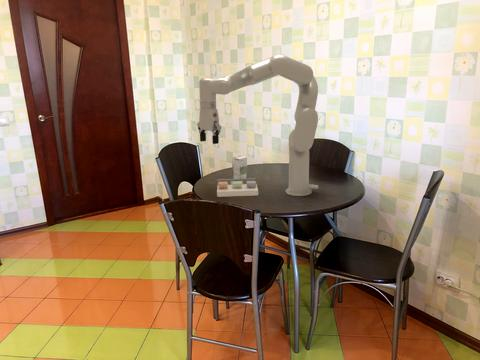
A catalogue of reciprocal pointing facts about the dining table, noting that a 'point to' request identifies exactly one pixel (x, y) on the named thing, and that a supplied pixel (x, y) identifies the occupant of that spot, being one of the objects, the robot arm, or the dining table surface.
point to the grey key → (251, 183)
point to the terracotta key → (222, 184)
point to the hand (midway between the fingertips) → (209, 142)
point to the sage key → (237, 183)
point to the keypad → (237, 188)
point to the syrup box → (239, 167)
